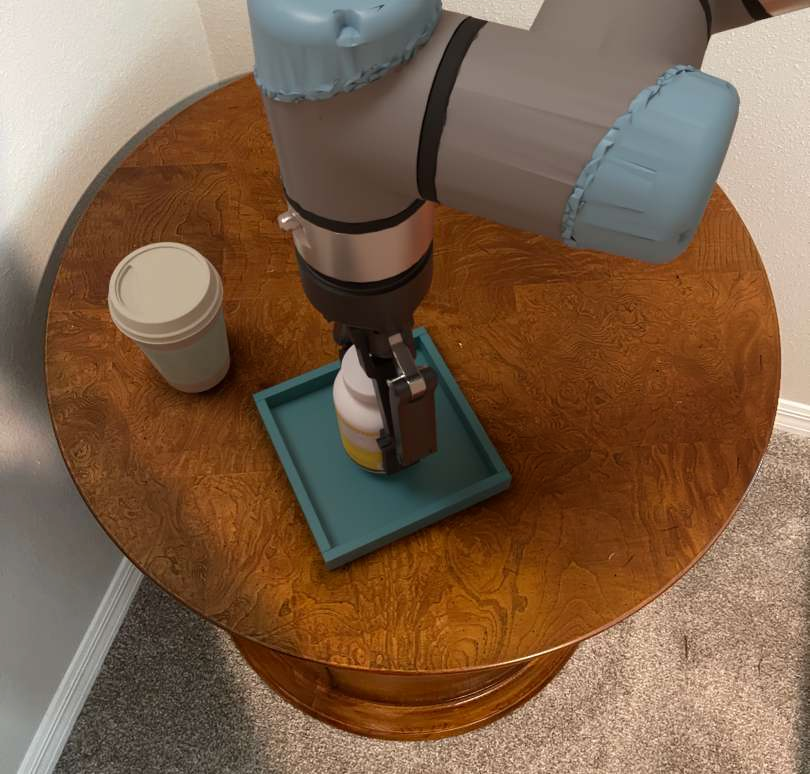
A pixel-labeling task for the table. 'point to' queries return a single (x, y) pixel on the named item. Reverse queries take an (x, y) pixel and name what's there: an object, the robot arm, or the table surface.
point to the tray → (367, 491)
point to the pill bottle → (358, 414)
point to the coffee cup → (173, 313)
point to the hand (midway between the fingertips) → (381, 426)
